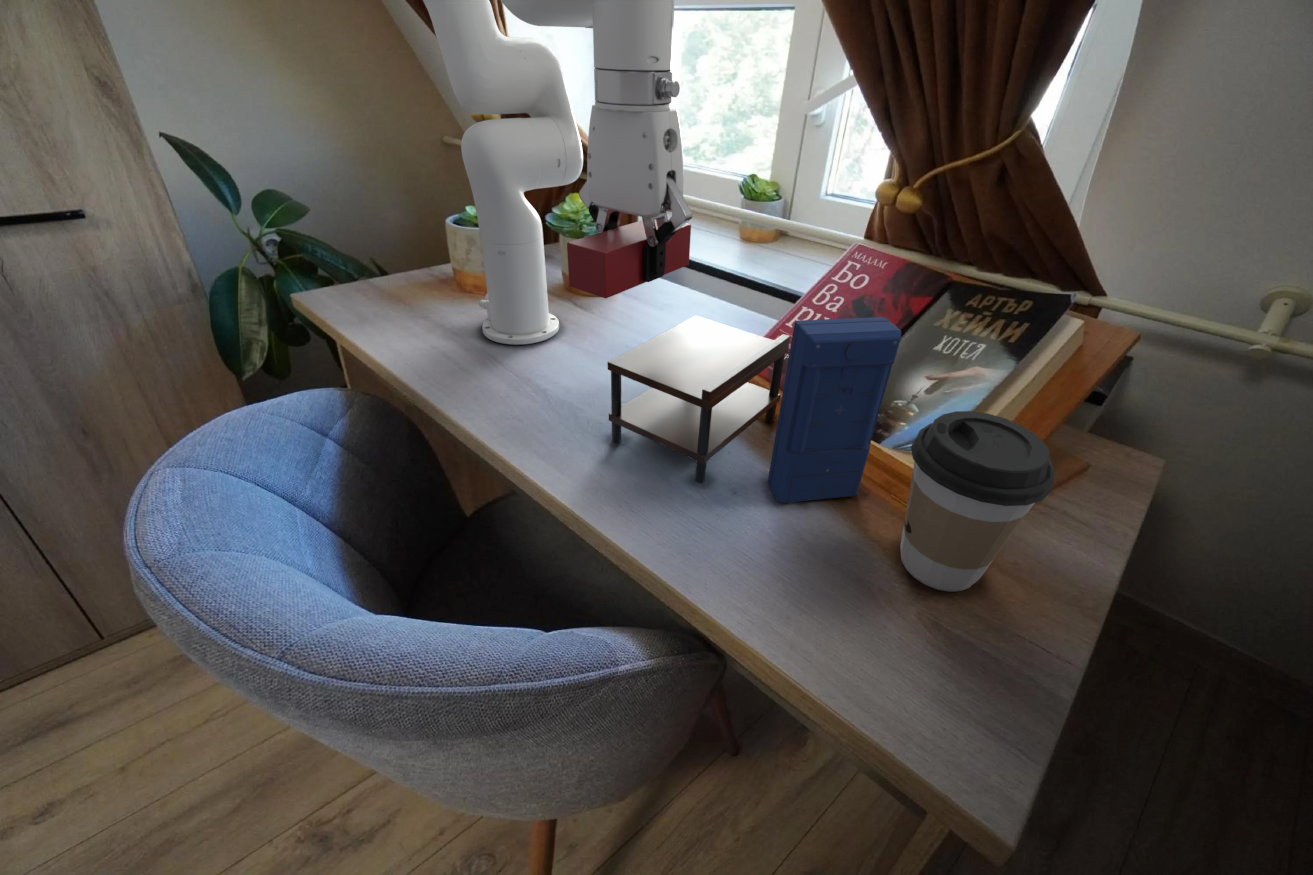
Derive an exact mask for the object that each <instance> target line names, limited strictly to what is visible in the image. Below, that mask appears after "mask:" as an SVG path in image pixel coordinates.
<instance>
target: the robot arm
mask: <svg viewBox="0 0 1313 875" xmlns="http://www.w3.org/2000/svg"><path fill="white" fill-rule="evenodd" d="M499 1H500V2H501V4H503V6H504V7H505V8H506V9H507V10H508V11H509V12H510V13H511V14H512V15H513V16H514V17H516V18H517V19H519V20H520V21H522V22H523V23H526V24H529V25H532V26H536V27H556V28H557V27H558V28H559V27H561V28H585V29H592V39H593V41H592V42H593V67H594V68H593V72H594V73H593V77H594V79H593V80H594V104H593V105H591V110H590V116H589V126H588V137H587V138H588V139H587V160H586V162H587V163H586V165H587V166H586V167H587V168H586V171H587V172H586V173H587V174H586V176H587V179H586V181H585V183H584V184H583V185H582V187H581V189H580V190H579V192H578V197H579V199H580V200H581V202H582V203H583V205H584V206H585V207H586V209H588V213H589V215H590V217H591V218H592V220H593V222H594V223H595V231H596V232H597V234H598V233H601V232H604V231H608V230H611V229H614V228H618V227H620V224H621V220H622V216H623V214H627V215H632V216H636V217H640V218H641V220H643V225H644V229H645V233H646V238H647V242H648V244H647V245H644V246H643V280H644V281H646V282H645V283H650V282H652V281H655V280H658V279H660V278H662V277H664V276H665V275H664V270H665V259H666V242H668V241H670V240H671V237H672V236H673V235H674V234H675V233H676V232H677V231H678V230H679V229H680V228H681V227H682V226H684V225H685V224H686V223H687V224H688V222H690V221H691V220H692V218H693V213H692V211H691V208H690V207H689V205H688V203H687V202H686V199H685V197H684V183H685V182H684V181H685V180H684V151H683V150H684V148H683V137H682V130H681V129H682V128H681V122H680V116H679V110H678V109H677V108H672V98H677V97H678V96H679V94H680V91H681V90H680V84H679V81H676V80H673V52H674V27H675V26H674V23H675V22H674V20H675V0H499ZM422 2H423V4H424V6H425V8H426V10H427V12H428V15H429V17H430V20H431V24H432V28H433V30H434V34H435V37H436V41H437V43H438V47H439V50H440V53H441V54H440V55H441V57H442V61H443V64H444V67H445V70H446V73H447V76H448V81H449V83H450V86H451V89H452V91H453V95H454V96H455V98H456V100H457V102H458V104H459V105H460V107H461V108H462V109H463V110H464V111H466V112H468V113H470V114H475V115H487V116H488V115H491V116H492V115H511V114H513V115H514V114H527V115H529V117H511V118H510V117H507V118H493V119H485V120H482V121H478V122H476V123H473V124H472V125H470V126H469V127H468V128H467V129H466V130H465V131H464V133H463V135H462V138H461V142H460V150H461V158H462V161H463V166H464V170H465V172H466V176H467V178H468V182H469V186H470V189H471V190H470V191H471V193H472V198H473V202H474V207H475V212H476V218H477V219H476V220H477V226H478V232H479V240H480V247H481V254H482V264H483V271H484V277H485V284H486V291H487V293H486V294H485V296H484V299H481V300H480V301H479V302H478V305H479V307H480V308H482V309H484V310H486V312H487V317H486V319H485V320H484V321H483V323H482V328H481V329H482V333H483V335H484V336H485V337H486V338H487V339H489V340H490V341H493V342H496V343H498V344H504V345H515V346H519V345H521V346H522V345H532V344H535V343H540V342H543V341H547V340H548V339H550V338H552V337H553V336H555V335H556V334H557V333H558V332H559V330H560V322H559V319H558V318H557V317H556V316H555V315H554V314H552V313H551V312H550V311H549V310H550V309H549V299H548V297H549V296H548V285H547V271H546V270H547V269H546V258H545V244H544V230H543V223H542V219H541V217H540V215H539V213H538V212H537V210H536V209H535V207H533V205H532V203H530V202H529V201H528V199H527V198H526V197H525V192H528V191H533V190H538V189H539V190H540V189H547V188H556V187H563V186H567V185H571V184H572V183H574V182H576V181H577V180H578V179H579V178H580V176H581V173H582V172H583V171H582V170H583V166H584V151H583V146H582V145H583V144H582V142H581V141H582V140H581V136H580V132H579V129H578V128H579V127H578V125H577V122H576V117H575V114H574V109H573V106H572V103H571V99H570V94H569V91H568V87H567V83H566V80H565V76H564V73H563V70H562V66H561V64H560V60H559V59H558V57H557V56H556V54H555V52H554V51H553V49H552V48H551V47H550V46H549V45H548V44H547V43H545V42H544V41H542V40H540V39H539V38H538V39H537V38H533V37H525V36H523V37H521V36H520V37H519V36H506V35H505V34H502V32H501V31H500V29H499V26H498V24H497V21H496V18H495V14H494V10H493V6H492V4H491V1H490V0H422ZM667 212H670V213H671V216H670V217H668V213H667ZM655 219H656V221H657V226H658V229H656V224H655ZM668 219H669V220H668Z"/></svg>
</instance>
